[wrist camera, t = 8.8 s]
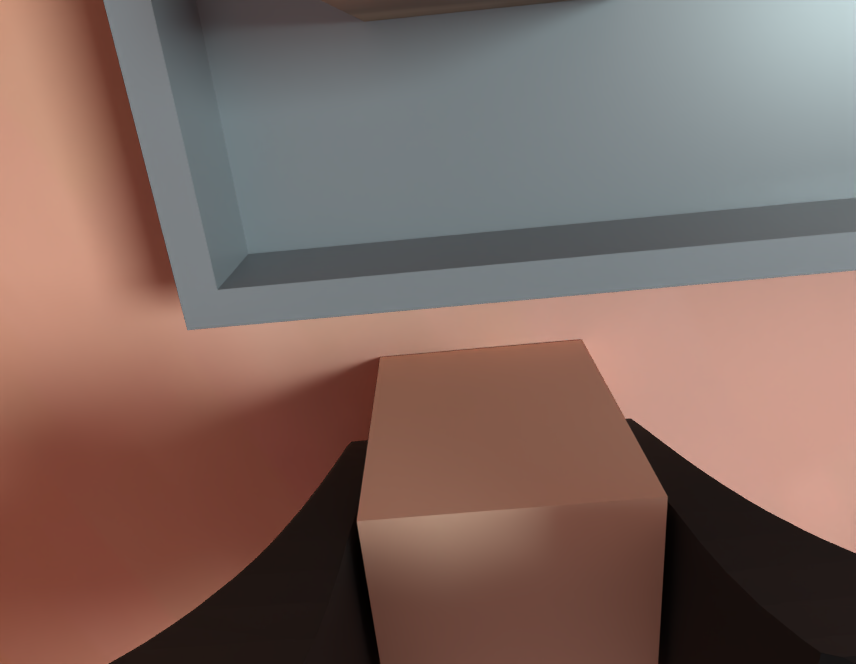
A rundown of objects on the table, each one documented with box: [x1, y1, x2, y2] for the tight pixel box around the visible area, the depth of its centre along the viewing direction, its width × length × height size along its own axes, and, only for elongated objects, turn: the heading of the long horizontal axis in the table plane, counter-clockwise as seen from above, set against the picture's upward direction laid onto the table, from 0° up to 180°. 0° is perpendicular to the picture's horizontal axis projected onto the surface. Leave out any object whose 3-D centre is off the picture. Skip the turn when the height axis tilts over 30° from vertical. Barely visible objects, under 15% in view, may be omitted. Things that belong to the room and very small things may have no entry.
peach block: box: [357, 340, 668, 664], centre depth 12 cm, size 4×4×5 cm
